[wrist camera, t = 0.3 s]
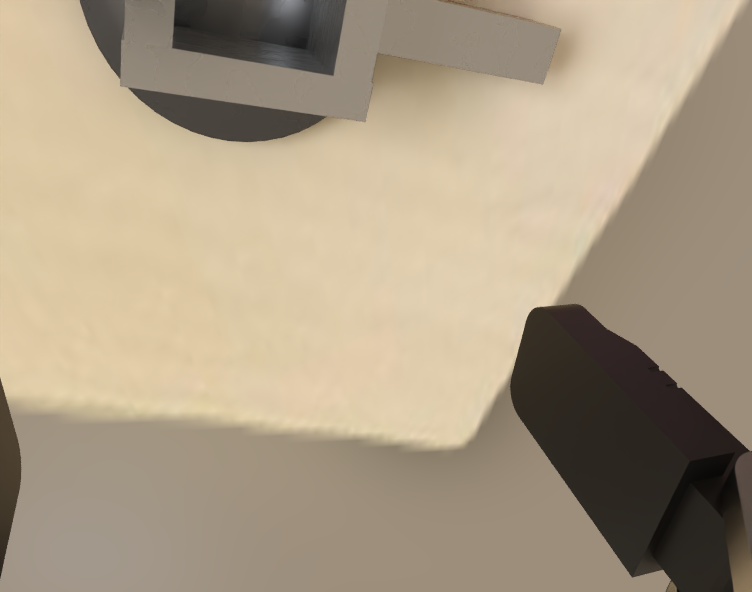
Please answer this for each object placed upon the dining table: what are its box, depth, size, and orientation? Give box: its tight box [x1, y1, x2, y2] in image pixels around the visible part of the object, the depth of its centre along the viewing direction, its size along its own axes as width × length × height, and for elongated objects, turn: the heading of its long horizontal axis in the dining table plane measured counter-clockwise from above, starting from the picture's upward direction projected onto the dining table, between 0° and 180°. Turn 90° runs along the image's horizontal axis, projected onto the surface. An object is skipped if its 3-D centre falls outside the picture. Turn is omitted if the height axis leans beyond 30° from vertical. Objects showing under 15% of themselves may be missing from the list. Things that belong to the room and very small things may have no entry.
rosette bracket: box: [80, 0, 561, 142], centre depth 30 cm, size 15×24×8 cm, turn 77°
